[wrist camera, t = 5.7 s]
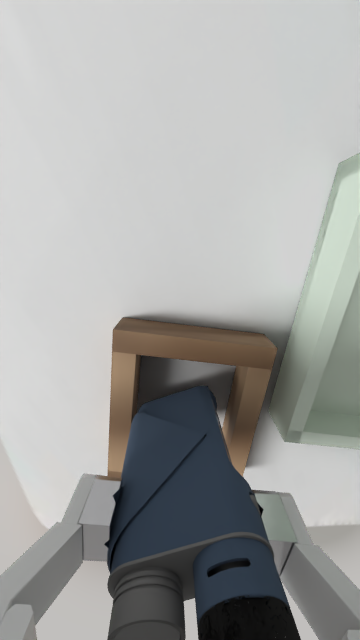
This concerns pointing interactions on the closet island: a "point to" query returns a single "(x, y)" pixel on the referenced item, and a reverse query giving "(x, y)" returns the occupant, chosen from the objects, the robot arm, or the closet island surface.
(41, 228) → the closet island surface
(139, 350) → the holder
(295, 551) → the robot arm
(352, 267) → the tray
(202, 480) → the vaping device
